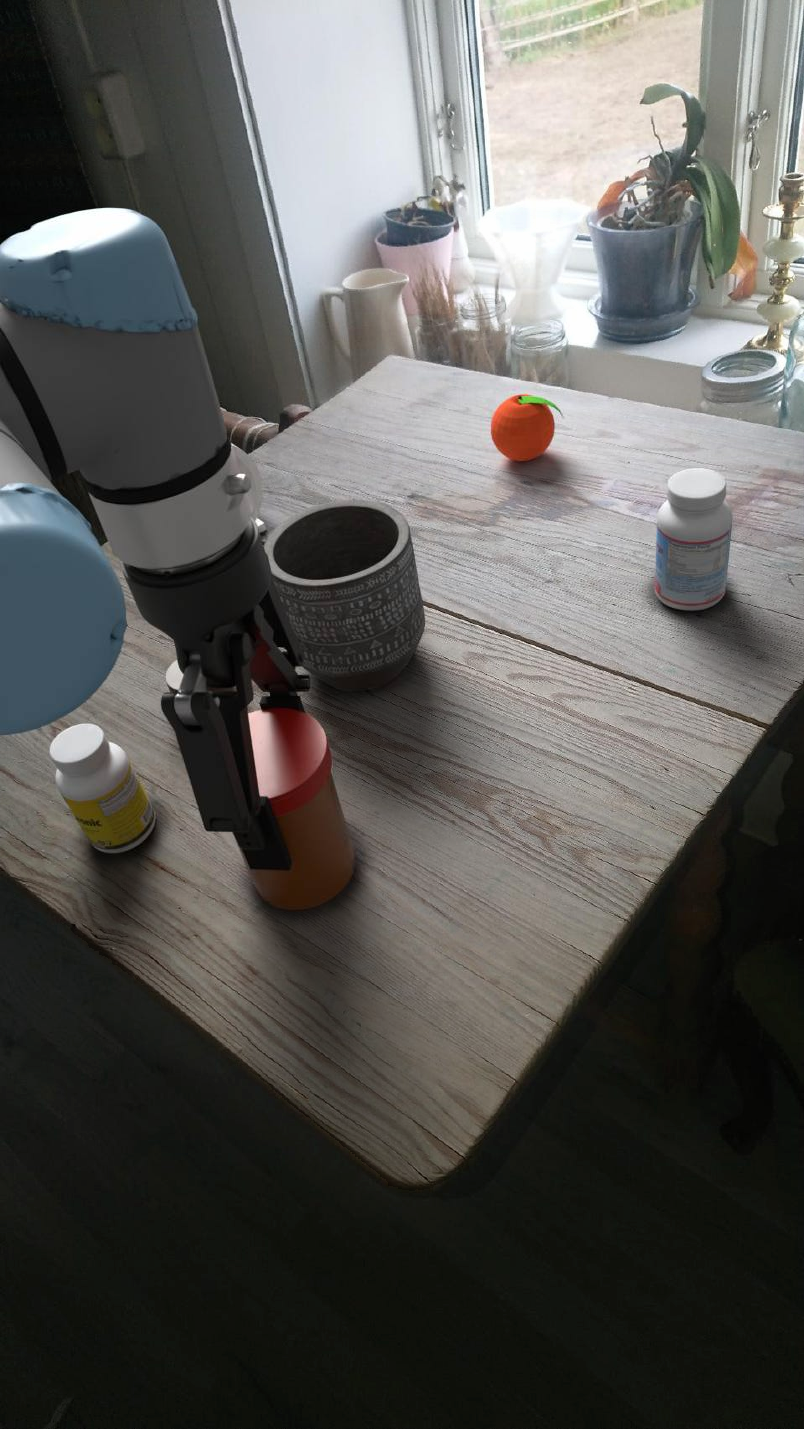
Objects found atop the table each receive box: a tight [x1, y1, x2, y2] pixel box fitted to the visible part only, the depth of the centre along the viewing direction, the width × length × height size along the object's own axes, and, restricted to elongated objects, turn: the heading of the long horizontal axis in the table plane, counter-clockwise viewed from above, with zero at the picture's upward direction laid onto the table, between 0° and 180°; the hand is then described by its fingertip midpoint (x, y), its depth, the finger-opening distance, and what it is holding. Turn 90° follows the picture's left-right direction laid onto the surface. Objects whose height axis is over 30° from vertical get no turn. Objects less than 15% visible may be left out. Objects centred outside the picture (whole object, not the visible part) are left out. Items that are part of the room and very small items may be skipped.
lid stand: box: [164, 659, 236, 692], centre depth 84 cm, size 5×5×4 cm
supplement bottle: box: [49, 723, 157, 854], centre depth 73 cm, size 5×5×10 cm
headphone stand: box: [231, 442, 267, 534], centre depth 102 cm, size 5×6×12 cm
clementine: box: [490, 393, 565, 462], centre depth 105 cm, size 8×7×7 cm
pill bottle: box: [654, 467, 733, 611], centre depth 83 cm, size 6×6×11 cm
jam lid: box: [248, 708, 333, 817], centre depth 63 cm, size 8×8×2 cm
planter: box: [263, 499, 426, 692], centre depth 83 cm, size 12×12×13 cm
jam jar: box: [231, 772, 356, 911], centre depth 67 cm, size 8×8×12 cm
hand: (286, 812), depth 67 cm, fingers closed on jam lid, 8 cm apart
